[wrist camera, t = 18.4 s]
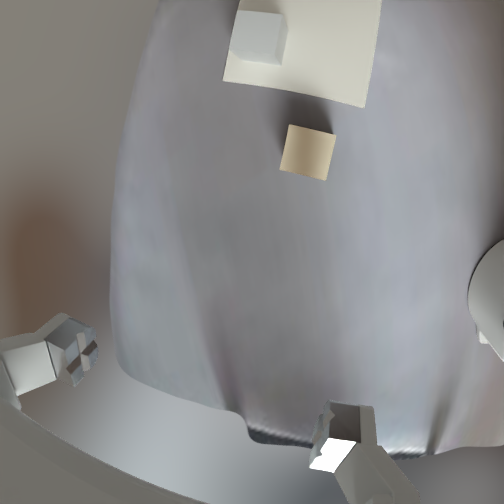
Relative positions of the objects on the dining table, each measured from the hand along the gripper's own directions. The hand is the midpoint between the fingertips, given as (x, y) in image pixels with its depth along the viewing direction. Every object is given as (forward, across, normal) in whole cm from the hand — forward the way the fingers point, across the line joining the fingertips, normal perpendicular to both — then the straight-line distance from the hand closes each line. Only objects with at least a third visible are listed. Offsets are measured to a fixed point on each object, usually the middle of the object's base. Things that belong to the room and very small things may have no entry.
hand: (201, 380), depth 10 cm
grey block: (+29, +6, -17) cm, 34 cm away
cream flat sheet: (+29, +2, -23) cm, 37 cm away
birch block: (+29, -1, -6) cm, 30 cm away
